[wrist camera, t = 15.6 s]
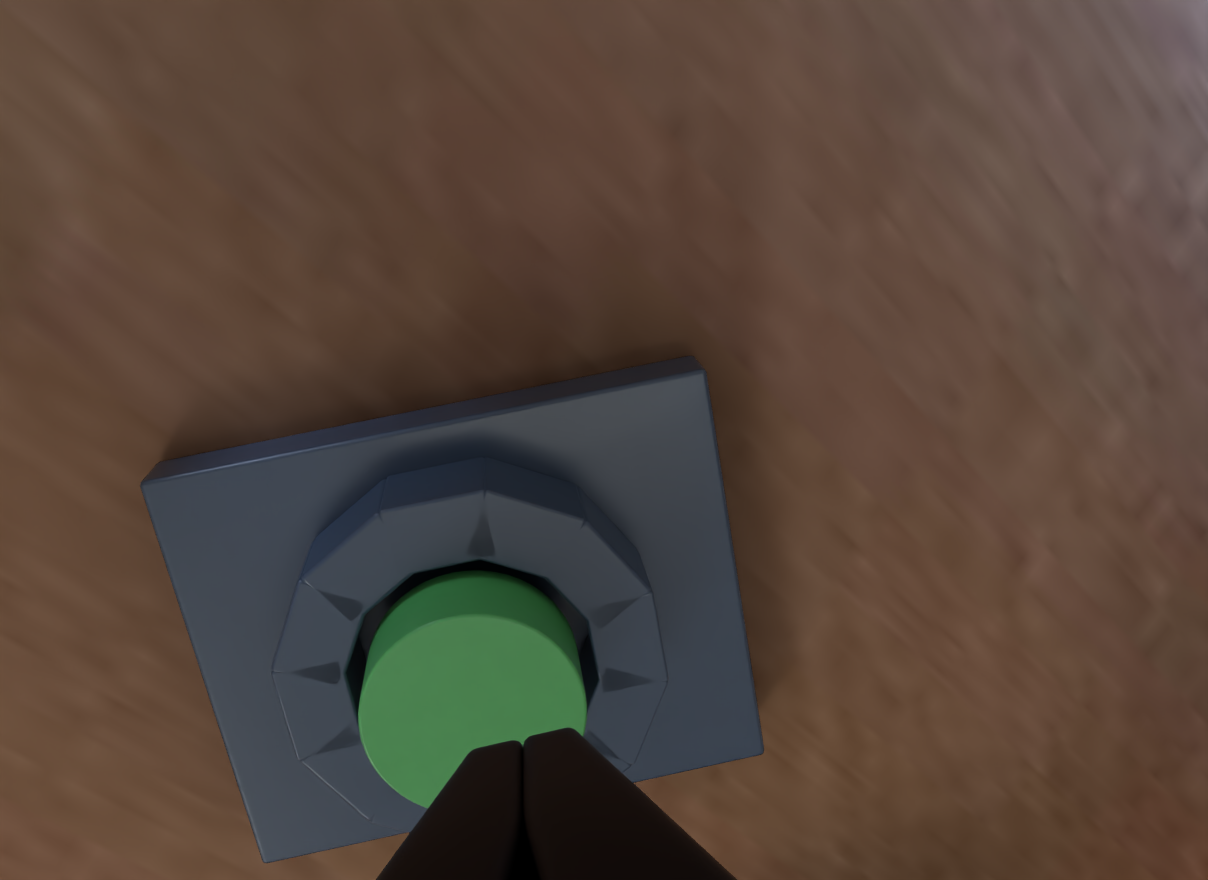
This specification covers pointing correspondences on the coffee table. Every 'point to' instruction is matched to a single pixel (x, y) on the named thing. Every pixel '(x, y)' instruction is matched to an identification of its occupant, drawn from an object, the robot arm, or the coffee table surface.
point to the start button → (465, 677)
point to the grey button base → (452, 544)
